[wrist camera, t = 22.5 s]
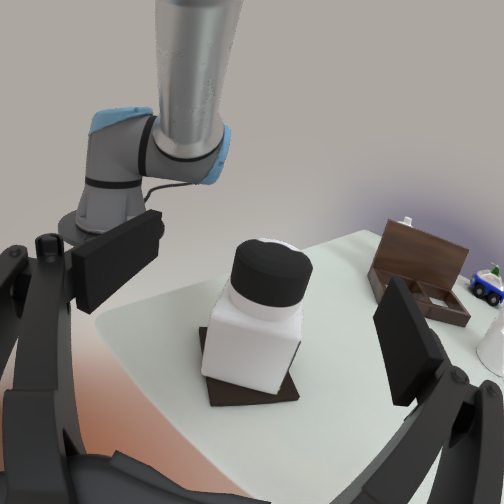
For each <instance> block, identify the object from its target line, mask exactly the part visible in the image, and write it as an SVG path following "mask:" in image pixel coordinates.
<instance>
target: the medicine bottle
mask: <svg viewBox="0 0 504 504" xmlns="http://www.w3.org/2000/svg"><path fill="white" fill-rule="evenodd" d="M312 270H313V267H312V264H311V261H310V259H309V258H308V257H307V256H306V255H305V254H304V253H303V252H301V251H300V250H298V249H297V248H295V247H294V246H292V245H290V244H287V243H284V242H281V241H277V240H273V239H252V240H248V241H245V242H243V243H242V244H240V245H239V246H238V247H237V249H236V253H235V258H234V263H233V268H232V272H231V276H230V277H229V279H228V281H227V283H226V285H225V287H224V289H223V291H222V292H221V294H220V296H219V298H218V300H217V302H216V304H215V306H214V308H213V310H212V312H211V314H210V317H209V323H208V329H207V335H206V341H205V347H204V354H203V360H202V367H201V373H202V375H205V376H208V377H211V378H214V379H218V380H221V381H225V382H228V383H232V384H235V385H239V386H242V387H246V388H250V389H254V390H258V391H262V392H266V393H270V394H278V392H279V390H280V388H281V386H282V384H283V382H284V380H285V377H286V375H287V373H288V371H289V368H290V366H291V364H292V362H293V359H294V357H295V355H296V352H297V350H298V348H299V345H300V343H301V340H302V324H303V296H304V293H305V290H306V288H307V285H308V282H309V279H310V276H311V273H312Z"/></svg>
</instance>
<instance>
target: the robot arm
mask: <svg viewBox="0 0 504 504" xmlns="http://www.w3.org/2000/svg"><path fill="white" fill-rule="evenodd" d="M155 2H156V3H155V4H156V5H155V23H156V24H155V25H156V58H157V77H158V91H159V92H158V93H159V106H160V113H159V115H158V116H153V111H152V109H151V108H148V107H134V108H133V107H128V108H115V109H107V110H102V111H99V112H97V113H96V114H95V115H94V117H93V118H92V123H91V128H90V132H89V134H88V136H89V140H88V150H87V161H86V176H85V188H84V191H83V194H82V197H81V199H80V202H79V205H78V209H77V212H76V227H77V228H78V229H79V230H80V231H82V232H84V233H86V234H89V235H92V236H95V237H92V238H89V239H88V240H86V241H84V242H82V243H80V244H79V245H77V246H75V247H73V248H71V249H70V250H68V251H66V252H64V243H63V236H61V235H59V234H55V233H49V234H44V235H41V236H39V237H37V238H36V239H35V245H36V254H37V259H36V258H30V257H28V252H27V248H26V247H25V246H21V245H14V246H11V247H9V248H7V249H6V250H5V251H3V252H2V253H1V255H0V380H1V377H2V374H3V371H4V369H5V366H6V364H7V361H8V359H9V356H10V354H11V352H12V349H13V347H14V345H15V342H16V340H17V338H18V344H17V351H16V359H15V368H14V379H13V389H12V390H6V391H5V392H4V397H3V419H2V421H3V422H2V427H3V428H2V430H3V431H2V432H3V457H4V468H5V471H1V472H0V504H271V502H268V501H262V500H257V499H252V498H248V497H243V496H239V495H234V494H226V493H210V492H199V491H190V490H186V489H185V488H182V487H181V486H180V485H178V484H176V483H175V482H173V481H171V480H170V479H168V478H167V477H166V476H164V475H163V474H161V473H160V472H158V471H157V470H155V469H154V468H153V467H151V466H149V465H146V464H144V463H142V462H140V461H138V460H136V459H134V458H131V457H129V456H127V455H125V454H123V453H121V452H119V451H117V450H116V451H115V452H114V454H113V456H112V457H110V456H106V455H100V454H87V453H86V450H85V447H84V445H83V442H82V438H81V433H80V428H79V422H78V415H77V408H76V401H75V392H74V382H73V371H72V354H71V305H70V301H71V300H72V299H73V298H76V304H77V309H79V310H81V311H83V312H85V313H87V314H91V313H92V312H93V311H94V310H95V309H96V308H97V307H99V306H100V305H101V304H102V303H103V302H104V301H105V300H106V299H108V298H109V297H110V296H111V295H112V294H113V293H115V292H116V291H117V290H118V289H119V288H120V287H121V286H123V285H124V284H125V283H126V282H127V281H129V280H130V279H131V278H132V277H133V276H135V275H136V274H137V273H138V272H139V271H140V270H142V269H143V268H144V267H145V266H146V265H148V264H149V263H150V262H151V261H153V260H154V259H155V258H156V257H157V256H158V249H159V238H160V228H161V218H162V212H159V211H155V210H152V209H150V210H148V211H146V208H145V203H146V201H147V200H148V199H149V197H150V195H151V193H152V192H153V191H155V190H158V189H162V188H168V187H178V186H186V185H192V184H195V185H197V184H198V185H199V184H206V185H211V184H213V183H215V182H216V181H217V179H218V178H219V176H220V174H221V172H222V169H223V165H224V162H225V160H226V157H227V153H228V149H229V145H230V138H231V130H230V128H229V127H228V126H226V125H224V124H223V121H222V118H221V117H220V115H219V114H218V108H219V103H220V98H221V93H222V88H223V84H224V79H225V74H226V69H227V65H228V60H229V56H230V52H231V48H232V43H233V39H234V35H235V31H236V27H237V23H238V19H239V15H240V11H241V8H242V4H243V0H155ZM142 176H146V177H154V178H161V179H169V180H176V181H182V182H187V183H177V184H167V185H162V186H157V187H154V188H152V189H150V190H149V191H148V193H147V196H146V197H145V198H144V199H143V195H142V190H141V184H142ZM373 320H374V324H375V327H376V331H377V335H378V339H379V343H380V347H381V351H382V355H383V359H384V363H385V368H386V372H387V376H388V381H389V386H390V391H391V396H392V401H393V405H396V406H406V407H408V406H409V405H410V404H411V403H412V401H413V400H414V399H415V398H416V399H417V403H418V405H417V406H416V407H415V408H414V409H413V410H412V411H411V413H410V414H409V415H408V416H407V417H406V418H405V419H404V421H405V422H404V423H403V424H402V426H401V427H400V428H399V429H398V431H397V432H396V433H395V435H394V436H393V437H392V438H391V440H390V441H389V442H388V443H387V444H386V446H385V447H384V448H383V449H382V450H381V452H380V453H379V454H378V455H377V456H376V457H375V459H374V460H373V461H372V462H371V463H370V464H369V465H368V466H367V467H366V468H365V469H364V471H363V472H362V473H361V474H360V475H359V476H358V477H357V478H356V479H355V480H354V481H353V482H352V483H351V484H350V485H349V486H348V487H347V488H346V489H345V490H344V491H343V492H342V493H341V494H339V495H338V496H337V497H336V498H335V499H334V500H333V501H332V502H331V503H330V504H408V502H409V501H410V499H411V498H412V496H413V495H414V493H415V492H416V490H417V489H418V487H419V486H420V484H421V483H422V481H423V480H424V478H425V476H426V475H427V473H428V471H429V470H430V468H431V466H432V464H433V463H434V461H435V459H436V457H437V455H438V454H439V452H440V450H441V448H442V446H443V448H442V452H441V457H440V461H439V465H438V469H437V473H436V476H435V480H434V483H433V486H432V490H431V493H430V496H429V499H428V502H427V504H500V503H501V495H502V487H503V477H504V406H503V395H502V391H501V390H500V387H499V386H498V385H497V384H496V383H494V382H492V381H490V380H485V381H484V382H483V383H482V384H481V385H480V386H479V388H478V387H476V386H473V385H471V384H469V378H468V376H467V374H466V373H465V372H464V371H463V370H462V369H460V368H458V367H457V366H453V365H452V364H451V362H450V360H449V358H448V356H447V353H446V351H445V350H444V347H443V345H442V344H441V341H440V339H439V337H438V335H437V334H436V333H435V332H434V331H433V330H432V329H430V328H429V326H428V324H427V322H426V320H425V318H424V316H423V314H422V313H421V311H420V309H419V307H418V305H417V303H416V301H415V299H414V298H413V296H412V294H411V292H410V290H409V289H408V287H407V285H406V283H405V282H404V280H403V279H399V278H396V277H393V276H392V277H391V279H390V282H389V284H388V286H387V288H386V291H385V293H384V295H383V297H382V299H381V301H380V303H379V306H378V308H377V310H376V312H375V314H374V316H373ZM18 336H19V337H18Z"/></svg>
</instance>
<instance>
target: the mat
mask: <svg viewBox="0 0 504 504" xmlns="http://www.w3.org/2000/svg"><path fill="white" fill-rule="evenodd" d="M207 329H208V327H199V335H200V342H201V349H202V355H203V354H204V347H205V341H206V335H207ZM206 380H207V386H208V392H209V397H210V403H211V406H239V405H254V404H267V403H277V402H286V401H294V400H298V399H299V397H300V396H299V394H298V392H297V389H296V387H295V385H294V383H293V380H292V378H291V376H290V374H289V371H288V373H287V375H286V377H285V380H284V382H283V384H282V386H281V388H280V390H279V392H278V394H270V393H266V392H262V391H258V390H254V389H250V388H246V387H242V386H239V385H235V384H232V383H228V382H225V381H221V380H218V379H214V378H211V377H208V376H206Z"/></svg>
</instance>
